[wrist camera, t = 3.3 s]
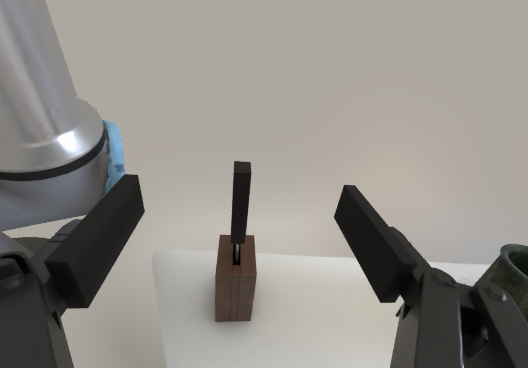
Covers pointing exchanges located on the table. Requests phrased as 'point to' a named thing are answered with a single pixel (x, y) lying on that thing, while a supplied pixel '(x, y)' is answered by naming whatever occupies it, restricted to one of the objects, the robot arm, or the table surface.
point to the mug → (511, 274)
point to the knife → (240, 204)
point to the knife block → (235, 280)
